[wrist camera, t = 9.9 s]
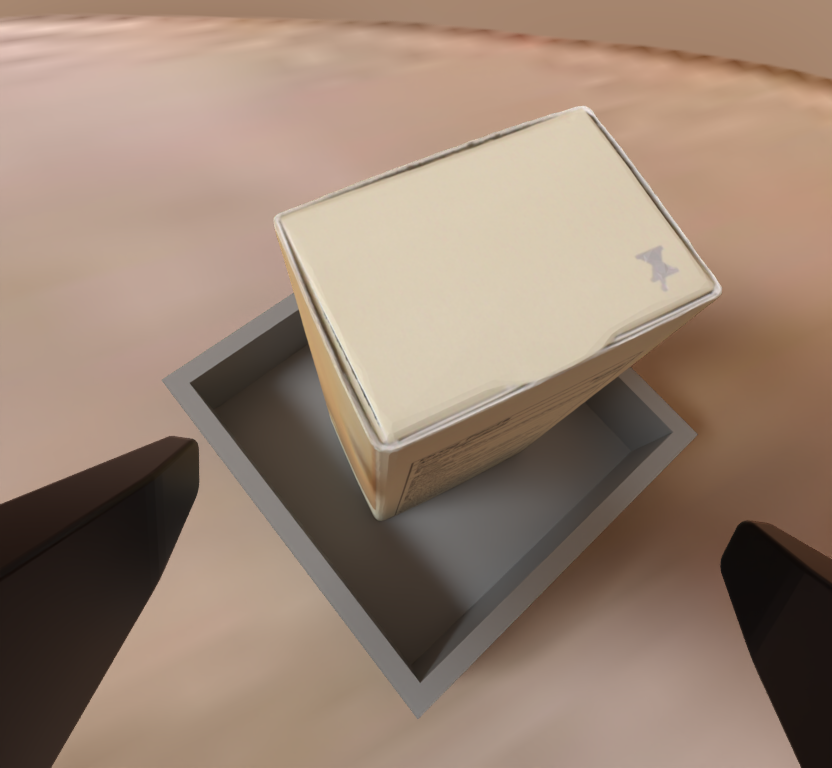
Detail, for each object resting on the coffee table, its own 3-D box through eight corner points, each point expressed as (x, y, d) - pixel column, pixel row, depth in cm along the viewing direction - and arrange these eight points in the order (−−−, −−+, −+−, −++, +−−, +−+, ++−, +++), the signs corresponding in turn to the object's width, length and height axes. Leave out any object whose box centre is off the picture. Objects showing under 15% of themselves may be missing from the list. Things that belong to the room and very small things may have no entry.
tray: (645, 456, 21) (697, 434, 18) (407, 692, 17) (417, 719, 14) (439, 242, 23) (452, 188, 20) (194, 412, 20) (161, 380, 17)
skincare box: (472, 353, 21) (603, 88, 10) (527, 451, 20) (750, 285, 8) (319, 419, 20) (257, 201, 8) (369, 530, 18) (379, 458, 7)
